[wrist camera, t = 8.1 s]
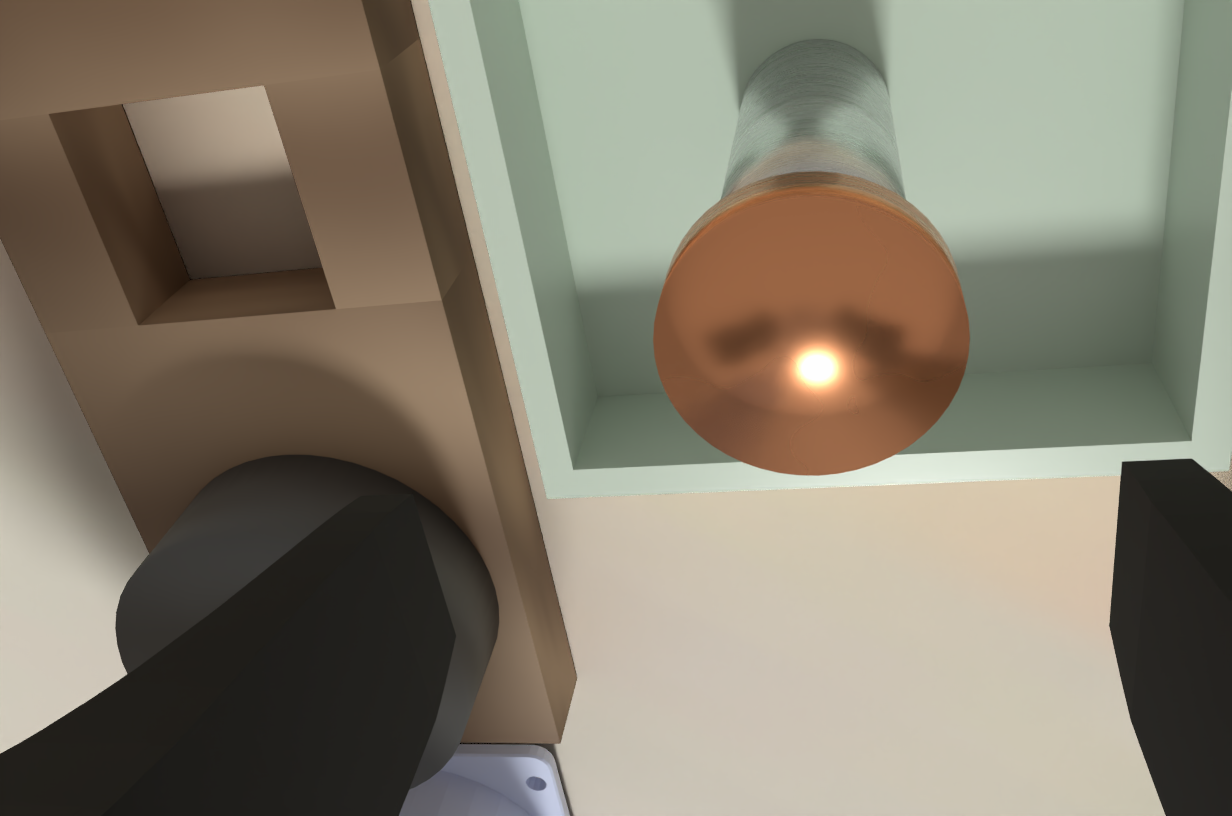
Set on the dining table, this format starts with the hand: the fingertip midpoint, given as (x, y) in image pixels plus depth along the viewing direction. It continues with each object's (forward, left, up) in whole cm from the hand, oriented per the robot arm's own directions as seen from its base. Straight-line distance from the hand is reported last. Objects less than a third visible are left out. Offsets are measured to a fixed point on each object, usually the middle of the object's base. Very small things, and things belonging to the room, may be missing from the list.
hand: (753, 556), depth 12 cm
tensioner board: (-2, +10, -10) cm, 14 cm away
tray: (+2, -1, -10) cm, 10 cm away
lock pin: (+2, -1, -9) cm, 9 cm away
